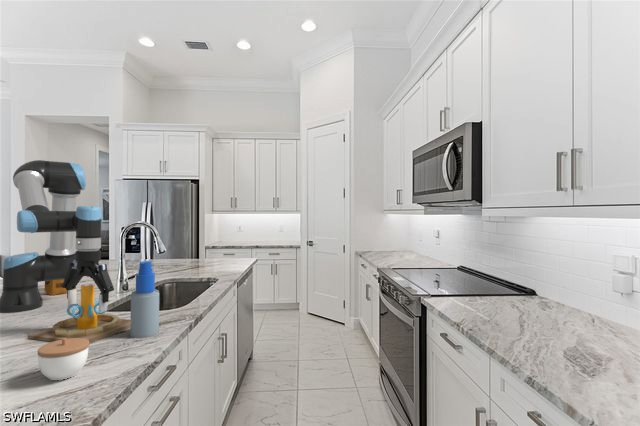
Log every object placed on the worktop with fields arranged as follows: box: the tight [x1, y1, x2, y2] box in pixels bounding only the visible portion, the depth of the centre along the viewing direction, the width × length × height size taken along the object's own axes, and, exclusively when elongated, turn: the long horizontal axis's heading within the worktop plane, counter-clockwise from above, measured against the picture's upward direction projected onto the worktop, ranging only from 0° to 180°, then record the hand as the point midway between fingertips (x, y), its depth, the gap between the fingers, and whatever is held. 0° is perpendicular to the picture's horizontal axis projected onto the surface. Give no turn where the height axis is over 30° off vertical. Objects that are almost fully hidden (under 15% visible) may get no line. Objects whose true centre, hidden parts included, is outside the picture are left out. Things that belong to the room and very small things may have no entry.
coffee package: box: [44, 280, 77, 296], centre depth 180 cm, size 10×12×22 cm
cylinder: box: [66, 283, 107, 329], centre depth 124 cm, size 12×10×15 cm
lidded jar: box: [37, 338, 90, 381], centre depth 90 cm, size 11×11×9 cm
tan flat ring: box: [52, 313, 120, 337], centre depth 124 cm, size 19×19×2 cm
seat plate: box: [27, 318, 131, 345], centre depth 124 cm, size 23×23×1 cm
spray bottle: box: [129, 260, 160, 339], centre depth 122 cm, size 9×9×25 cm
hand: (87, 309), depth 124 cm, fingers open, 13 cm apart
